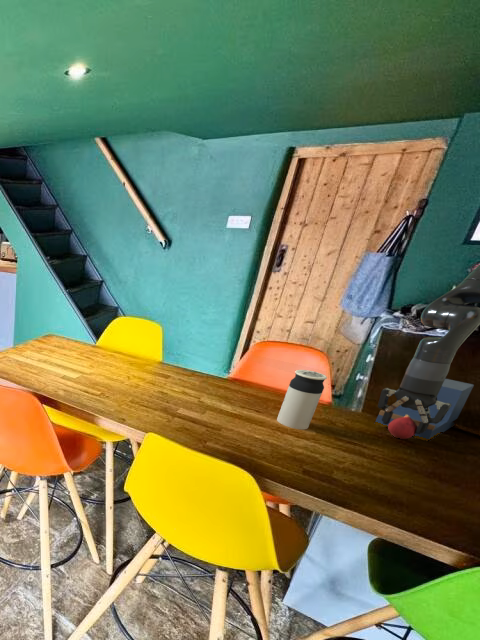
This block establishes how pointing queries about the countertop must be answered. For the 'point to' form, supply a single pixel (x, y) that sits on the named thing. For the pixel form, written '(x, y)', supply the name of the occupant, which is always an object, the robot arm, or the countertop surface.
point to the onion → (402, 427)
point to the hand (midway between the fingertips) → (401, 428)
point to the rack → (448, 393)
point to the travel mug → (301, 399)
